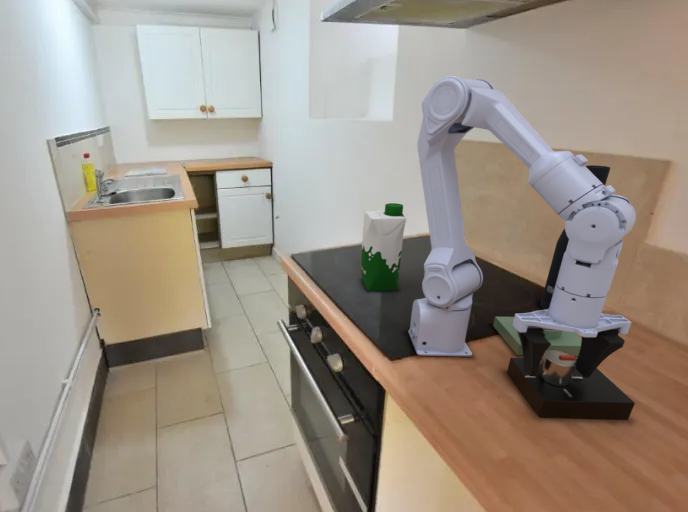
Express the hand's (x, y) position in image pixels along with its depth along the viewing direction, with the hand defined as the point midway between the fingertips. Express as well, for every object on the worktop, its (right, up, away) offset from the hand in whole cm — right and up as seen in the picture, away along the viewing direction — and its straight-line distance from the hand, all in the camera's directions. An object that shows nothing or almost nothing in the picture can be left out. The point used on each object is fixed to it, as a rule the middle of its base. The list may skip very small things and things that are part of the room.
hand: (555, 372), depth 56 cm
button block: (+7, +2, +15) cm, 17 cm away
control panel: (+2, -4, +1) cm, 4 cm away
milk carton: (-18, +11, +38) cm, 44 cm away
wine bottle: (+18, +7, +27) cm, 33 cm away
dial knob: (0, -1, 0) cm, 1 cm away
